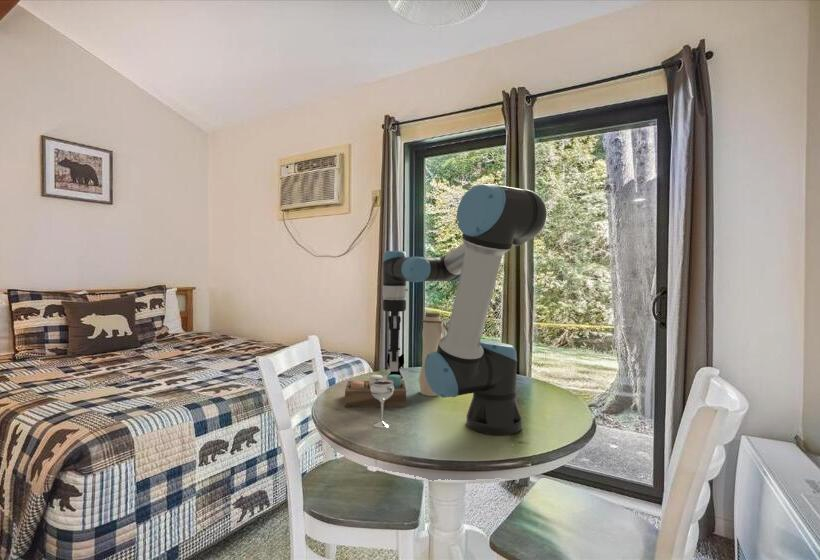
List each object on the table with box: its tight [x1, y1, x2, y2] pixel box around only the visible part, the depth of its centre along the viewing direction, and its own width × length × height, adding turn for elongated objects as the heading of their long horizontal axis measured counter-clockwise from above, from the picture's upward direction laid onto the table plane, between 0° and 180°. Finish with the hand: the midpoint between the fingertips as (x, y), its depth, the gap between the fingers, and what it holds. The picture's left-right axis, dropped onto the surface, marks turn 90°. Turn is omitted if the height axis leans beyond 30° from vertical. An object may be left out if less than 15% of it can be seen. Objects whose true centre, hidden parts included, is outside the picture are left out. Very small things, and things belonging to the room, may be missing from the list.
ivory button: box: [368, 374, 384, 388], centre depth 139 cm, size 4×4×5 cm
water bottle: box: [418, 311, 448, 397], centre depth 148 cm, size 10×9×28 cm
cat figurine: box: [386, 352, 405, 380], centre depth 157 cm, size 7×7×12 cm
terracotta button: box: [351, 380, 364, 388], centre depth 138 cm, size 4×4×5 cm
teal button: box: [387, 374, 402, 388], centre depth 139 cm, size 4×4×5 cm
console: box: [344, 379, 407, 408], centre depth 139 cm, size 12×19×5 cm, turn 94°
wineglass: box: [370, 377, 394, 429], centre depth 118 cm, size 7×7×12 cm
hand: (393, 370), depth 139 cm, fingers closed
